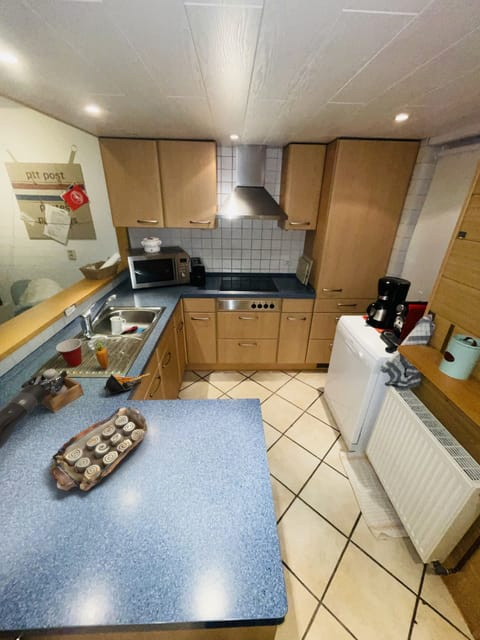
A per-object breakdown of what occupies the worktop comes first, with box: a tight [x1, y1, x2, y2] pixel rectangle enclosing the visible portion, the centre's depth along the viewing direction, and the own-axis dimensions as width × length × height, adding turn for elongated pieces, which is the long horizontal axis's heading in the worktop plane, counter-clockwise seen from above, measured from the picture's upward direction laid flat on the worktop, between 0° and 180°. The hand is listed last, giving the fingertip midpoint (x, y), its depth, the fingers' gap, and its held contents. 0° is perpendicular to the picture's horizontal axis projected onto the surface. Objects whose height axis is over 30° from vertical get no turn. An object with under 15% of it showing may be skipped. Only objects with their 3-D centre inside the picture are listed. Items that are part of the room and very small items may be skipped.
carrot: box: [93, 341, 109, 370], centre depth 121 cm, size 5×5×15 cm
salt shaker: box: [42, 368, 67, 398], centre depth 103 cm, size 6×6×13 cm
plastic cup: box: [55, 338, 83, 368], centre depth 125 cm, size 11×11×12 cm
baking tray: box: [49, 406, 149, 492], centre depth 83 cm, size 30×22×5 cm
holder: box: [40, 375, 85, 413], centre depth 105 cm, size 12×12×6 cm
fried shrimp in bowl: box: [104, 372, 151, 395], centre depth 111 cm, size 9×11×18 cm
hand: (57, 372), depth 103 cm, fingers open, 6 cm apart
